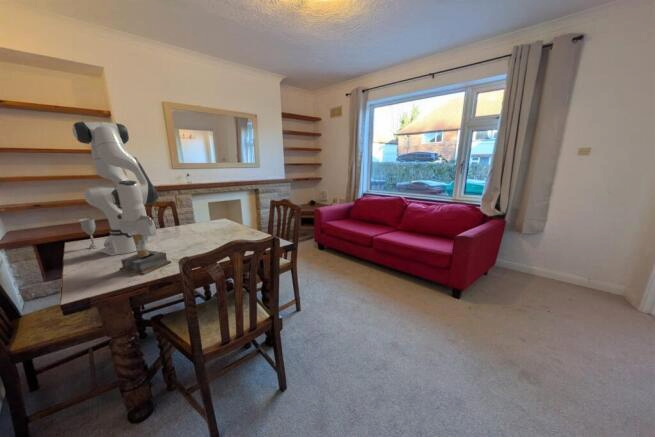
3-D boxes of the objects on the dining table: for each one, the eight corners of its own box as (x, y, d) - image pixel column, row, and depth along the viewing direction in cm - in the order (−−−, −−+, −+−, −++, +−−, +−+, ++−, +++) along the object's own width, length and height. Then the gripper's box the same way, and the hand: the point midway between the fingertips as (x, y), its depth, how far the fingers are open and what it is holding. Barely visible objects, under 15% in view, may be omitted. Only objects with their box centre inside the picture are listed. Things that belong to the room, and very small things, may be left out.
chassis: (119, 270, 122) (117, 259, 121) (147, 259, 135) (145, 249, 134) (144, 274, 117) (142, 263, 116) (171, 262, 130) (169, 252, 128)
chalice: (83, 250, 151) (75, 221, 147) (91, 246, 157) (83, 218, 153) (97, 248, 153) (90, 220, 148) (104, 245, 159) (97, 217, 155)
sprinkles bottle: (137, 256, 124) (129, 230, 120) (147, 253, 127) (140, 228, 124) (140, 258, 121) (132, 231, 117) (151, 254, 124) (143, 229, 121)
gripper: (157, 214, 119) (162, 242, 122) (127, 212, 126) (133, 238, 129) (144, 217, 113) (150, 246, 117) (113, 215, 120) (120, 242, 123)
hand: (141, 242), depth 123 cm, fingers closed on sprinkles bottle, 4 cm apart
